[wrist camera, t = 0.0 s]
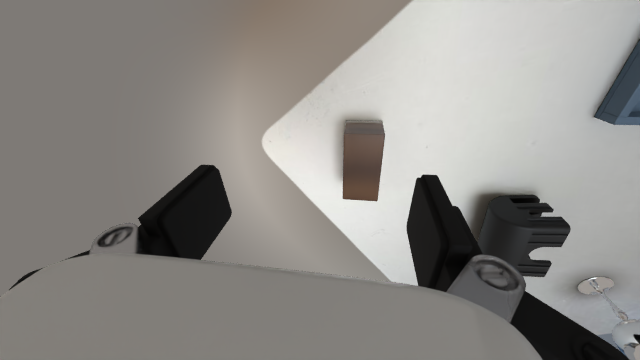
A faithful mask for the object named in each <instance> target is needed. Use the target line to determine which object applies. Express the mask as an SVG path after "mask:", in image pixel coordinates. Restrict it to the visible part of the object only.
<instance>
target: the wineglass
mask: <svg viewBox="0 0 640 360" xmlns="http://www.w3.org/2000/svg"><path fill="white" fill-rule="evenodd" d="M613 286H614V282H613V280H611V279H610V278H607V277H594V278H589V279H587V280H584V281H582V282H581V283H580V284H579V285H578V290H579V291H580V292H581V293H584V294H600V295H601V296H603V298H604V299H605V300H606V301H607V302H608V303H609V304H610V306H611V307H612V309H613V310H614V312H615V314H616V315H617V316H618V317H619V318H620V319H622V320H623V321H621V322H619V323H618V324H616V325H615V326H614V328H613V330H612V337H613V339H614V342H615V343H616V345H617V346H618V348H619V349H620V351H621V352H622V353H623V354H624V355H625V356H626V357H627V358H628V359H630V360H640V319H629V320H628V316H627V315H626V314H625V312H623V311H622V310H621V309H619V308H618V307H617V306H616V305H615V304H614V303H613V302H612V301H611V300H610V299H609V298H608V297H607V296H606V294H605V292H606V291H608V290H610V289H611V288H612V287H613Z"/></svg>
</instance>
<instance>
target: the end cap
mask: <svg viewBox="0 0 640 360" xmlns="http://www.w3.org/2000/svg"><path fill="white" fill-rule="evenodd" d="M539 202H540V199H539V198H538V197H537V196H534V195H518V196H500V197H498V198H495V199H493V200H492V201H491V202H490V203H489V205H488V209H487V212H486V215H485V219H484V222H483V225H482V229H481V232H480V236H479V239H478V242H477V243H478V245H479V247H480V249H481V251H482V253H483V255H491V256H495V257H498V258H500V259H502V260H504V261H506V262H508V263H509V264H511V265H512V266H513V267H515V268H516V269H517V270H518V271H519V272H520V274H521V275H522V276H531V277H544V276H545V275H546V273H547V271H548V270H549V268H550V266H551V264H552V263H551V262H550V261H548V260H532V259H530V257H529V253H530V252H531V251H533V250H534V249H537V248H540V247H562V245H563V243H564V241H565V239H566V238H567V236H568V234H569V232H570V226H569V224H568V223H567V222H566V221H565V220H564V219H563V218H562V217H540V216H541V214H542V212H553V209H552V208H551V207H550V206H549V205H548V204H547V203H539Z"/></svg>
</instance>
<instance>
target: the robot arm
mask: <svg viewBox="0 0 640 360" xmlns="http://www.w3.org/2000/svg"><path fill="white" fill-rule="evenodd" d="M231 213H232V212H231V208H230V204H229V201H228V198H227V195H226V191H225V188H224V185H223V182H222V179H221V175H220V172H219V170H218V169H217V168H216V167H215V166H214V165H200V166H199V167H198V168H197V169H195V170H194V171H193V172H192V173H191V174H190V175H188V176H187V177H186V178H185V179H184V180H182V181H181V182H180V183H179V184H178V185H177V186H176V187H174V188H173V189H172V190H171V191H170V192H168V193H167V194H166V195H165V196H164V197H162V198H161V199H160V200H159V201H158V202H157V203H155V204H154V205H153V206H152V207H151V208H150V209H148V210H147V211H146V212H145V213H144V214H143V215H141V216H140V217H139V218H138V219H139V221H140V223H141V225H140V226H139V227H137V225H135V224H133V223H124V224H119V225H116V226H114V227H111V228H109V229H107V230H105V231H104V232H102V233H101V234H100V235H98V236H97V237H96V238H95V240H94V241H93V243H92V246H91V249H90V250H89V251H87V252H84V253H81V254H78V255H76V256H73V257H70V258H68V259H65V260H62V261H60V262H57V263H54V264H51V265H49V266H47V267H44V268H41V269H39V270H36V271H33V272H30V273H28V274H27V275H25V276H23V277H22V278H21V279H20V280H18V282H17V283H16V284H14V285H13V286H12V287H11V288H10V289H9V291H8V292H7V293H5V294H4V295H2V296H0V360H630V359H628V358H627V357H626V356H625V355H624V354H623V353H622V352H621V351H619V350H618V349H616V348H615V347H614V346H612V345H611V344H609V343H608V342H606V341H605V340H603V339H601V338H600V337H598V336H597V335H595V334H593V333H592V332H590V331H589V330H587V329H585V328H584V327H582V326H581V325H579V324H577V323H576V322H574V321H572V320H571V319H569V318H568V317H566V316H564V315H563V314H561V313H560V312H558V311H556V310H555V309H553V308H552V307H550V306H548V305H547V304H545V303H543V302H542V301H540V300H539V299H537V298H535V297H534V296H532V295H531V294H529V293H527V292H526V291H525V287H526V283H525V280H524V278H523V276H522V275H521V274H520V272H519V271H518V270H517V269H516V268H515V267H513V266H512V265H511V264H509V263H508V262H506V261H504V260H502V259H500V258H498V257H495V256H491V255H483V253H482V251H481V249H480V247H479V245H478V243H477V242H476V240H475V238H474V236H473V234H472V232H471V230H470V228H469V226H468V224H467V222H466V221H465V219H464V217H463V215H462V213H461V211H460V209H459V208H458V207H456V206H452V204H451V202H450V200H449V198H448V196H447V194H446V192H445V190H444V188H443V186H442V184H441V182H440V180H439V178H438V176H437V175H422V176H421V178H417V179H416V184H415V188H414V193H413V198H412V202H411V207H410V212H409V217H408V221H407V234H408V239H409V244H410V248H411V253H412V258H413V262H414V267H415V272H416V277H417V281H418V286H415V285H409V284H403V283H396V282H388V281H381V280H373V279H365V278H358V277H349V276H341V275H332V274H323V273H314V272H306V271H297V270H288V269H279V268H270V267H261V266H252V265H243V264H234V263H224V262H215V261H206V260H201V259H202V257H203V256H204V254H205V253H206V252H207V250H208V248H209V247H210V246H211V244H212V243H213V241H214V240H215V239H216V237H217V236H218V234H219V233H220V231H221V230H222V229H223V227H224V226H225V224H226V223H227V222H228V220H229V219H230V217H231Z"/></svg>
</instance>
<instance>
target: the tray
mask: <svg viewBox="0 0 640 360" xmlns="http://www.w3.org/2000/svg"><path fill="white" fill-rule="evenodd" d="M594 117H595V118H598V119H601V120H603V121H606V122H608V123H611V124H613V125H640V40H639V42H638V43H637V45H636V47H635V48H634V50H633V52H632V54H631V55H630V57H629V59H628V60H627V62H626V64H625V65H624V67H623V69H622V70H621V72H620V74H619V76H618V77H617V79H616V81H615V82H614V84H613V86H612V87H611V89H610V91H609V93H608V94H607V96H606V98H605V99H604V101H603V103H602V104H601V106H600V108H599V109H598V111H597V113H596V115H595V116H594Z"/></svg>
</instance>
